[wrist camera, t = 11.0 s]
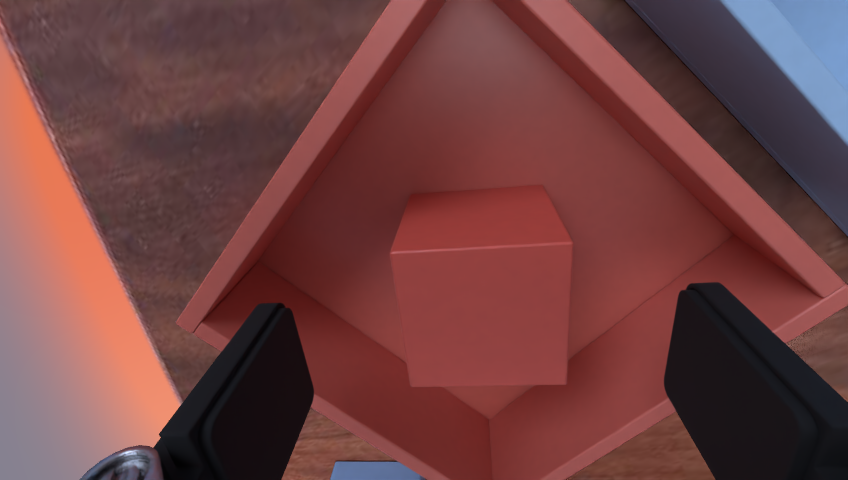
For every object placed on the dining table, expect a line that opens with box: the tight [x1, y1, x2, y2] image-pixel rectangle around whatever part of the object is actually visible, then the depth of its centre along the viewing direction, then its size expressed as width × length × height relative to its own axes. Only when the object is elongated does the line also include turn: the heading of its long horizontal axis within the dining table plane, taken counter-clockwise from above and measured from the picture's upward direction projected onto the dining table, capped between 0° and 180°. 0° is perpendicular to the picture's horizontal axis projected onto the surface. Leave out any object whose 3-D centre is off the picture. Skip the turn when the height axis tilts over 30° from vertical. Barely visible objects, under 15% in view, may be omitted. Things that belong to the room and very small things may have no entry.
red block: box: [390, 185, 574, 387], centre depth 13 cm, size 4×4×4 cm
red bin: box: [176, 0, 848, 480], centre depth 14 cm, size 13×13×4 cm
